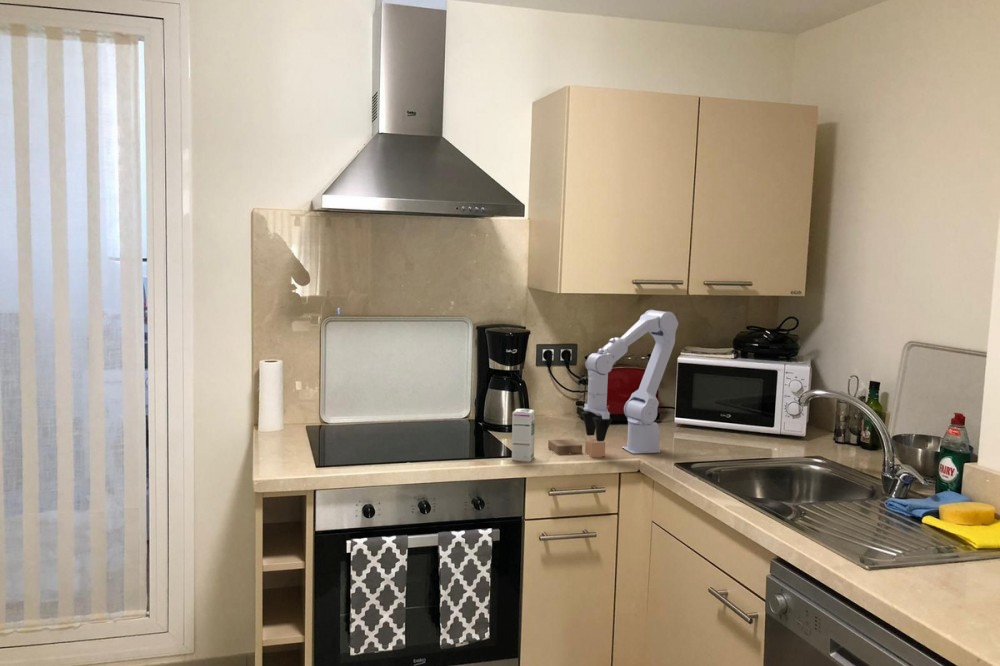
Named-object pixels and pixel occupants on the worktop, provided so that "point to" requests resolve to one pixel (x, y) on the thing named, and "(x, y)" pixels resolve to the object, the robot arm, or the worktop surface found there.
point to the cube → (595, 448)
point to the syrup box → (523, 435)
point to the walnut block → (565, 446)
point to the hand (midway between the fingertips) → (595, 438)
